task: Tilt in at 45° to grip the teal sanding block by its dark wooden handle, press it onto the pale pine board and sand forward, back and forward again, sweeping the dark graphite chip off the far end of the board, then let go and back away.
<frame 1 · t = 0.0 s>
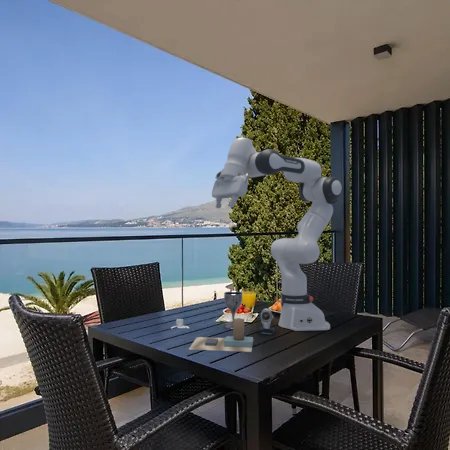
hand: (224, 207, 150), 52 cm above the table, tool tilted 20°, fingers open, 8 cm apart
grey hub with arms: (174, 330, 165), on the table
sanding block: (238, 344, 138), point 1 cm above the table, touching pine board
pine board: (222, 348, 139), on the table
wine glass: (233, 327, 169), on the table
graphite chip: (211, 343, 140), point 1 cm above the table, touching pine board
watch: (267, 336, 154), on the table
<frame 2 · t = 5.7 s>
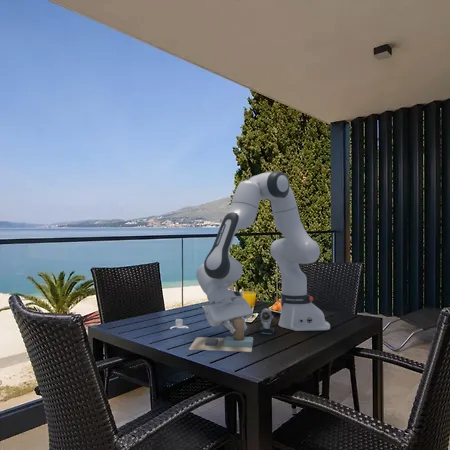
hand: (240, 330, 138), 7 cm above the table, tool tilted 45°, fingers closed on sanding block, 4 cm apart
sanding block: (238, 344, 138), point 1 cm above the table, touching gripper, pine board
everything else where it was.
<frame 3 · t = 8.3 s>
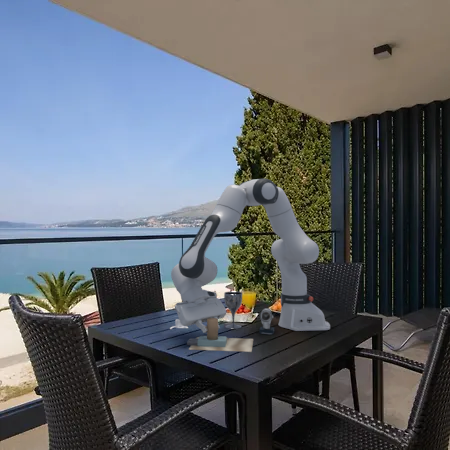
hand: (212, 330, 139), 6 cm above the table, tool tilted 45°, fingers closed on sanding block, 4 cm apart
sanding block: (212, 343, 139), point 2 cm above the table, touching graphite chip, gripper
graphite chip: (193, 343, 140), point 1 cm above the table, touching pine board, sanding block
everything else where it was.
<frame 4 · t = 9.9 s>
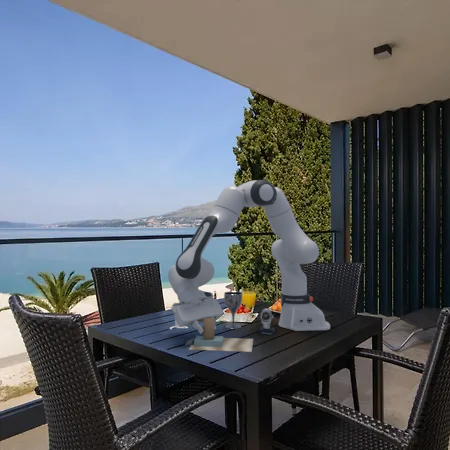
hand: (208, 330, 139), 6 cm above the table, tool tilted 45°, fingers closed on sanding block, 4 cm apart
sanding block: (209, 343, 139), point 2 cm above the table, touching gripper
graphite chip: (189, 344, 140), point 1 cm above the table, tilted 26°, touching pine board
everything else where it was.
when the fingers open (6 cm above the table, at t = 13.2 s): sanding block stays where it is, resting on pine board.
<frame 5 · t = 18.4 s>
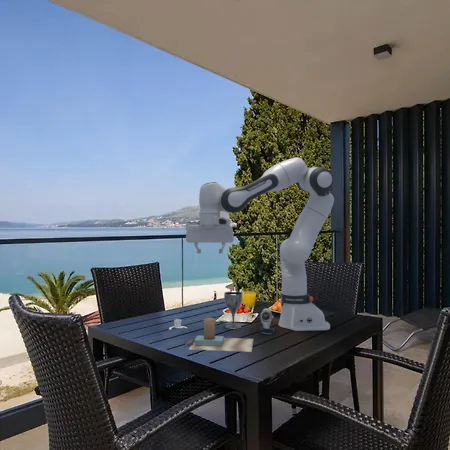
hand: (209, 253, 161), 33 cm above the table, tool pointing down, fingers open, 8 cm apart
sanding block: (209, 343, 140), point 1 cm above the table, touching pine board
everything else where it was.
at the end: graphite chip inside the target area (6.2 cm from its centre), point 0.9 cm above the table; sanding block inside the target area (1.8 cm from its centre), point 1.5 cm above the table; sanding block tilted 0° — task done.
